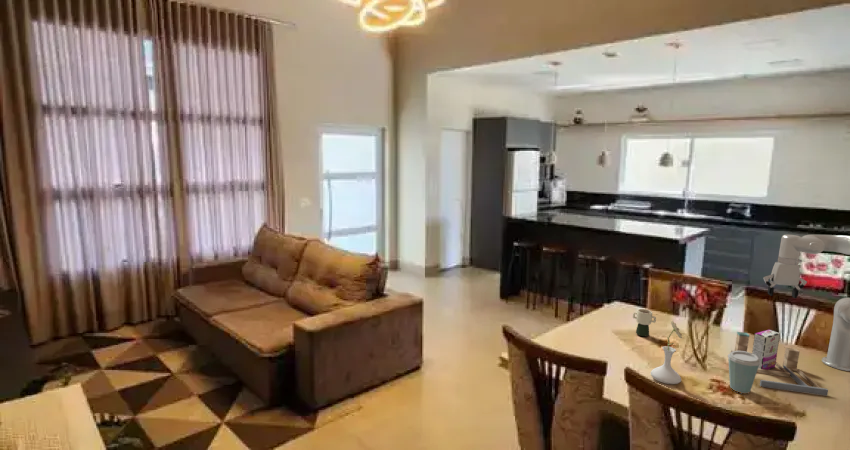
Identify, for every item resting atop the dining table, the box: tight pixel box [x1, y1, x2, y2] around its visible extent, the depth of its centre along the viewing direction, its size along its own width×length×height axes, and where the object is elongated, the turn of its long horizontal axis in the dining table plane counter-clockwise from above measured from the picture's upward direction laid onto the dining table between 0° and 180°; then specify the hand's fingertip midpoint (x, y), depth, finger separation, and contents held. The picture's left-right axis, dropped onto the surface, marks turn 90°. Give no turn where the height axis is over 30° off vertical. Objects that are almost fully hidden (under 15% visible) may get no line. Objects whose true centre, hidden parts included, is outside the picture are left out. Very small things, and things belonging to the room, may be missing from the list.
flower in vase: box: [650, 320, 683, 385], centre depth 189 cm, size 13×11×25 cm
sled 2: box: [782, 347, 822, 388], centre depth 195 cm, size 5×22×9 cm, turn 165°
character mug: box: [632, 308, 657, 337], centre depth 237 cm, size 11×7×13 cm, turn 54°
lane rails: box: [759, 365, 829, 397], centre depth 194 cm, size 23×21×2 cm
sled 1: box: [730, 331, 791, 378], centre depth 209 cm, size 16×23×10 cm
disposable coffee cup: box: [727, 350, 760, 394], centre depth 183 cm, size 11×11×15 cm
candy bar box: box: [751, 329, 781, 370], centre depth 203 cm, size 11×5×16 cm, turn 116°
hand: (782, 296), depth 217 cm, fingers open, 9 cm apart
